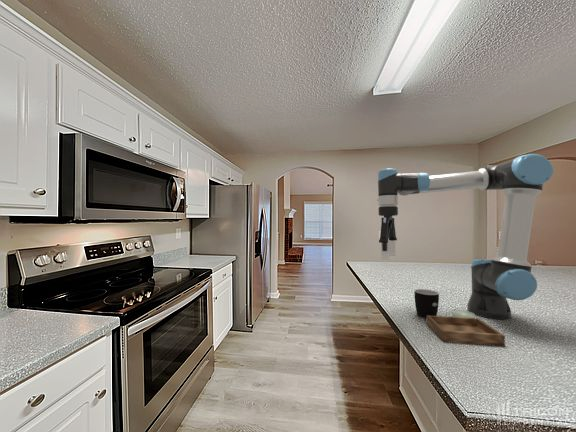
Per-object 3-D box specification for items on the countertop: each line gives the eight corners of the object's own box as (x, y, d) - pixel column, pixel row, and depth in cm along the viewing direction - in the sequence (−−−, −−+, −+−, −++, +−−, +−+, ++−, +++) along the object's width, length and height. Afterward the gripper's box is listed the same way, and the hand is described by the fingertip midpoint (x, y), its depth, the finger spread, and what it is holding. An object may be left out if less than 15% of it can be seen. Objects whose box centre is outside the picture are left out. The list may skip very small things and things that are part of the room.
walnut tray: (478, 327, 97) (478, 318, 97) (504, 346, 82) (504, 335, 83) (426, 323, 100) (426, 315, 100) (442, 341, 85) (442, 331, 85)
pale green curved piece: (469, 320, 105) (469, 310, 105) (479, 327, 98) (479, 316, 98) (450, 319, 106) (450, 309, 106) (458, 326, 99) (458, 315, 99)
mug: (433, 322, 102) (433, 296, 102) (410, 315, 109) (410, 291, 109) (445, 315, 110) (445, 291, 110) (423, 309, 117) (422, 286, 117)
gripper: (385, 207, 122) (385, 253, 121) (371, 205, 101) (371, 260, 100) (402, 207, 118) (403, 254, 117) (391, 204, 97) (392, 261, 96)
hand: (388, 257), depth 109 cm, fingers open, 13 cm apart
